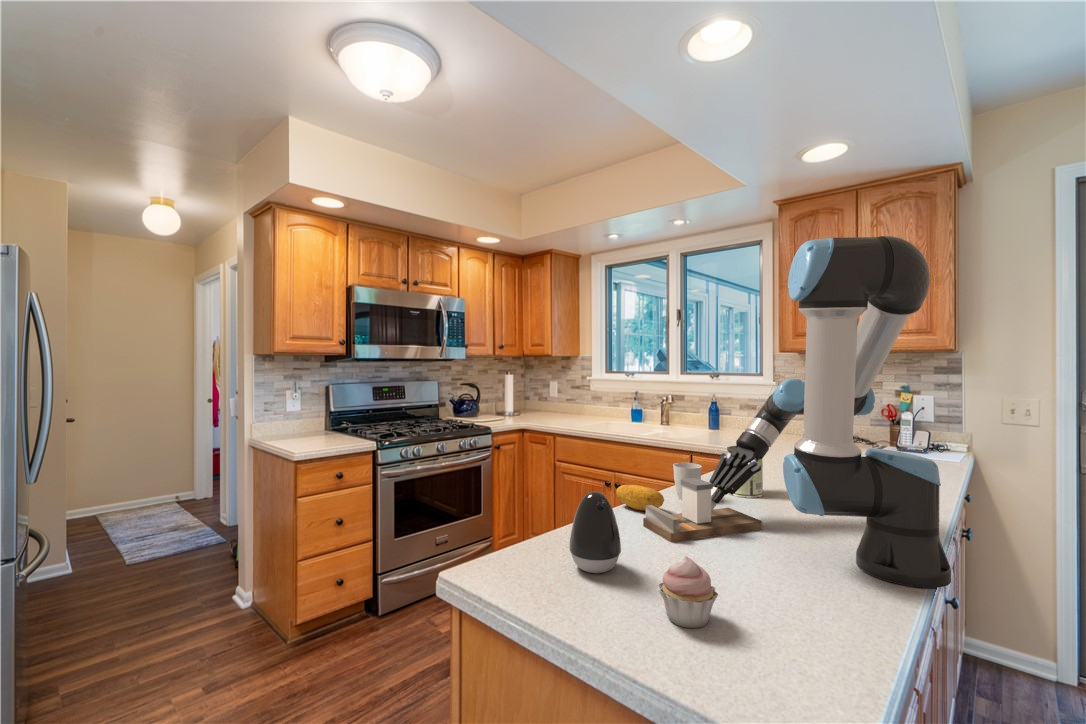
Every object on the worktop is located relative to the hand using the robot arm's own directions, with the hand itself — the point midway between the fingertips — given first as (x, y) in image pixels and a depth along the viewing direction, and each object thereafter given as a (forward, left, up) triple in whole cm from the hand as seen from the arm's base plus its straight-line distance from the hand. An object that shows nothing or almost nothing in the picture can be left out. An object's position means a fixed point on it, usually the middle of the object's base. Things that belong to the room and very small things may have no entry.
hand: (703, 510), depth 127 cm
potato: (+11, +16, -4) cm, 20 cm away
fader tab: (-3, +2, -1) cm, 4 cm away
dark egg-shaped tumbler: (-31, +25, -4) cm, 40 cm away
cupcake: (-48, +9, -4) cm, 49 cm away
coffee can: (+33, -16, -4) cm, 37 cm away
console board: (-2, +1, -4) cm, 4 cm away
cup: (+24, +2, -4) cm, 24 cm away
